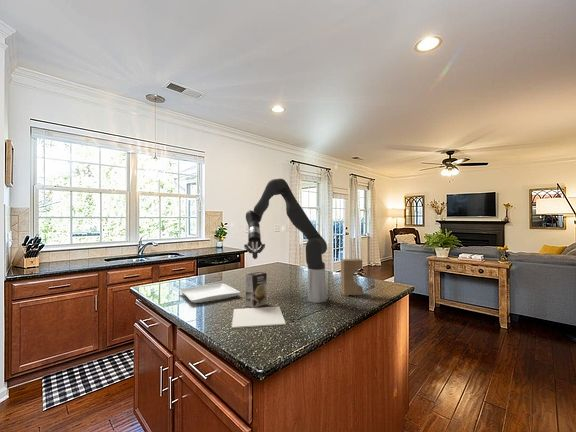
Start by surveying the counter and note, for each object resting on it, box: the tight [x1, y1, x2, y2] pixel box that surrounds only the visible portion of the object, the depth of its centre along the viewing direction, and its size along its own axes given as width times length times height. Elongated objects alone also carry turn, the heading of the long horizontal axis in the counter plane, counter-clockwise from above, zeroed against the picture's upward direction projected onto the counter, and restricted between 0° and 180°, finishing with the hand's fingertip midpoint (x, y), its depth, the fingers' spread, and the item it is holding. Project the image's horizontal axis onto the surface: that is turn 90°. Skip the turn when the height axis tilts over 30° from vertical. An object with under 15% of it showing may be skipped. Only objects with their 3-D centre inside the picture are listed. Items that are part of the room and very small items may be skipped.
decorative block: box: [340, 258, 364, 297], centre depth 159 cm, size 11×6×20 cm, turn 99°
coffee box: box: [245, 271, 268, 308], centre depth 141 cm, size 9×6×16 cm
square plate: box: [178, 283, 241, 304], centre depth 157 cm, size 27×27×4 cm
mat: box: [231, 306, 287, 329], centre depth 124 cm, size 22×22×1 cm
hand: (255, 258), depth 158 cm, fingers closed
